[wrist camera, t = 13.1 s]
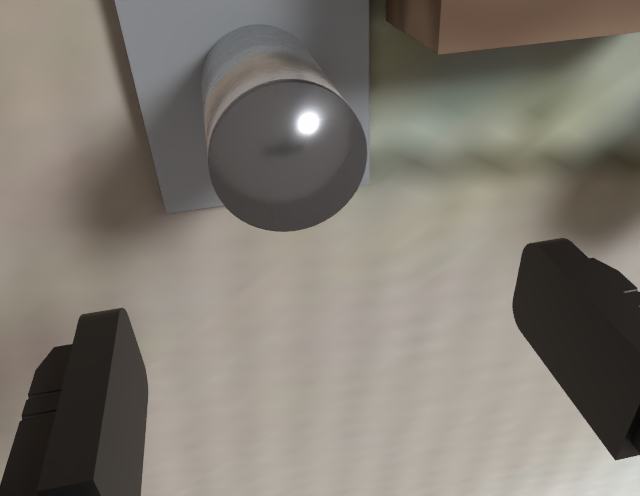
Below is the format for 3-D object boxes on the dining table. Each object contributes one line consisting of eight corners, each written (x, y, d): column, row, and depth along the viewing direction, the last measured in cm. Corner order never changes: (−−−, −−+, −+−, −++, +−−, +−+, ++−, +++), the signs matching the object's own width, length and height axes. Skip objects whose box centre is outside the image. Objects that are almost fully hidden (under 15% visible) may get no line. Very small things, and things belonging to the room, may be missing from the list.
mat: (105, -50, 20) (102, -48, 20) (363, -70, 22) (368, -69, 21) (166, 205, 27) (166, 213, 26) (365, 177, 28) (369, 184, 27)
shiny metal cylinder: (190, 30, 22) (194, 93, 15) (313, 18, 22) (367, 73, 16) (210, 147, 25) (221, 241, 18) (319, 133, 25) (367, 219, 19)
